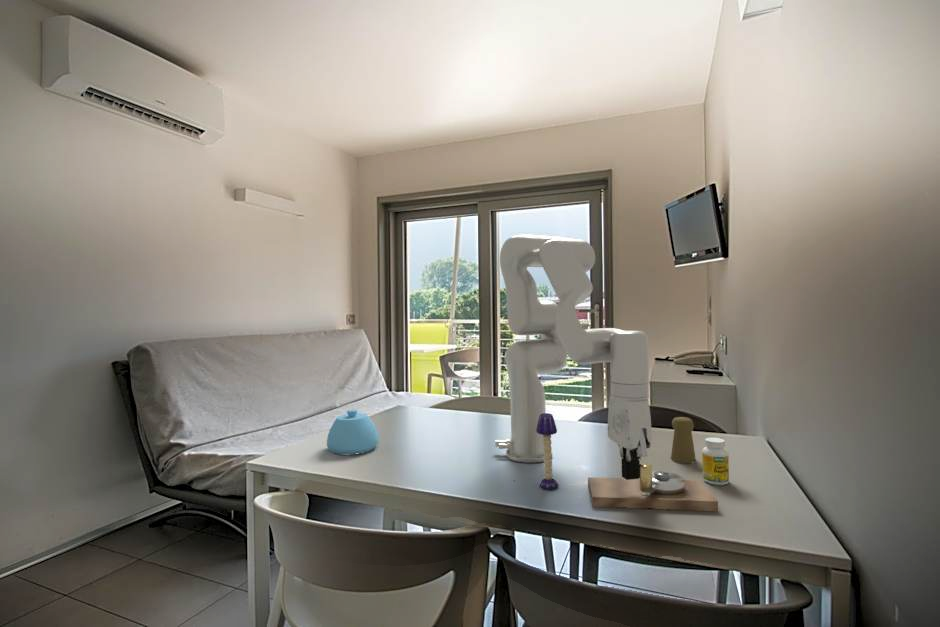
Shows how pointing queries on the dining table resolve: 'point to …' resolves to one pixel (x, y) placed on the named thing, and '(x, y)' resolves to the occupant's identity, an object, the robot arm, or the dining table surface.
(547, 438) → the toy lamp
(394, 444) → the dining table surface
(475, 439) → the dining table surface
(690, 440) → the cork
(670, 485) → the crank handle
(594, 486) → the stand plate
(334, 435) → the sugar bowl
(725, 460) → the supplement bottle
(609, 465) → the dining table surface
